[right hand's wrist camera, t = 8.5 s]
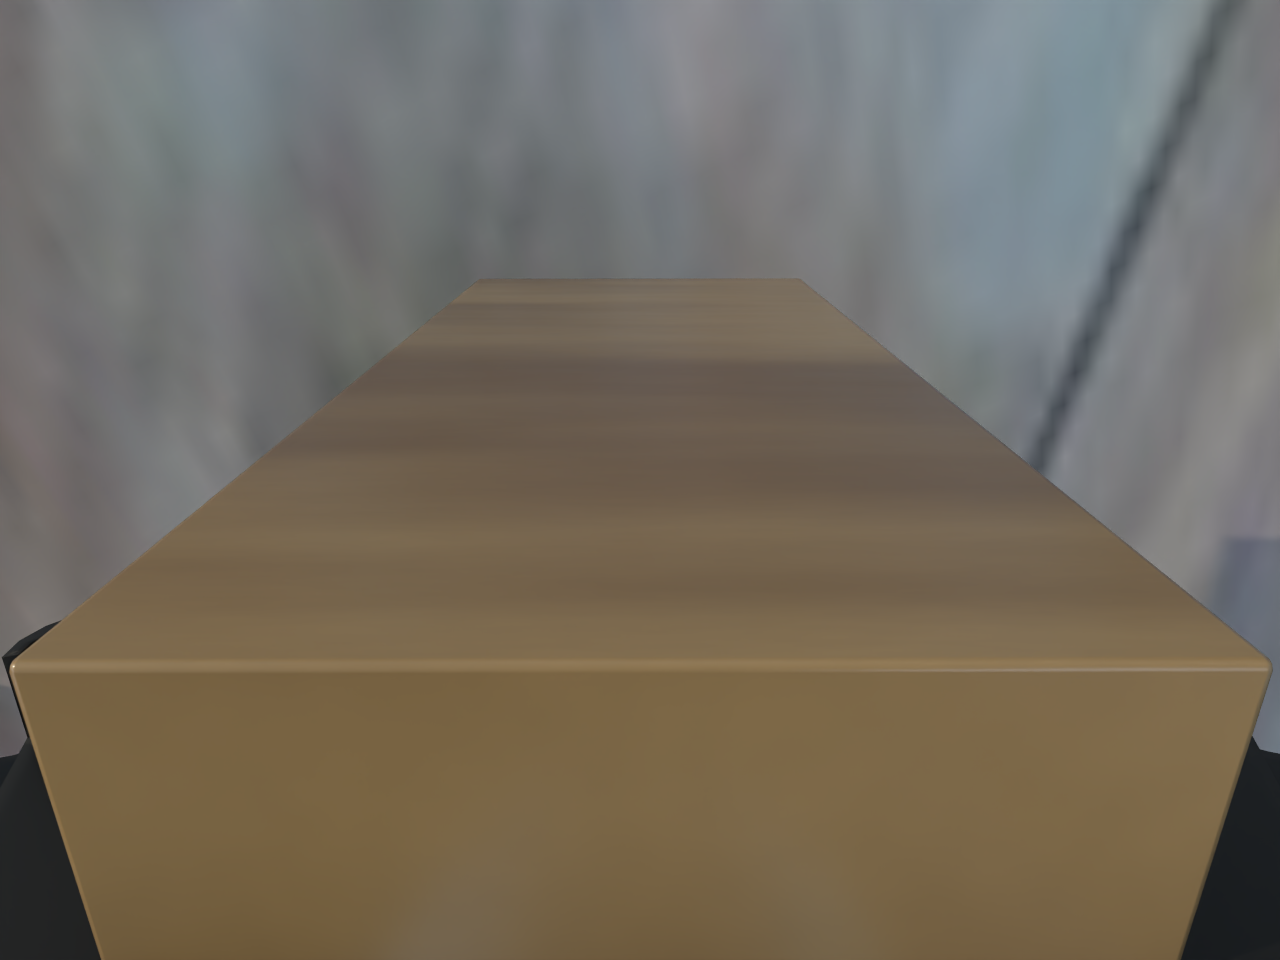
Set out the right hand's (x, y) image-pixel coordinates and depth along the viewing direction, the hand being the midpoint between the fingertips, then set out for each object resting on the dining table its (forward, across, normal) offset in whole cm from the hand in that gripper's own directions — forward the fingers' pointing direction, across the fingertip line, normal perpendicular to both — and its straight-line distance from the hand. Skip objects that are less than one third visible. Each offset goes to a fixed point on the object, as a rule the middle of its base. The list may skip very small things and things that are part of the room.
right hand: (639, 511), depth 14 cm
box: (+3, 0, -7) cm, 8 cm away
